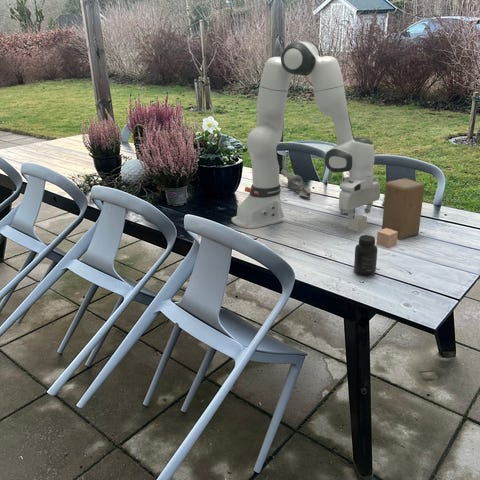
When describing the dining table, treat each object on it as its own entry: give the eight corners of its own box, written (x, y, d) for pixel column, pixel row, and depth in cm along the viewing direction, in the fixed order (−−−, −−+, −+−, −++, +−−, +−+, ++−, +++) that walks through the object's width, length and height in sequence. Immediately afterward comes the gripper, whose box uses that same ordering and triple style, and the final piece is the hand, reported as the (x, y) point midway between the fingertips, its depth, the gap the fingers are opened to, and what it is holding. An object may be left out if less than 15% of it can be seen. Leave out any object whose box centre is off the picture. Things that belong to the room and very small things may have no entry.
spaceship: (290, 165, 246) (277, 161, 242) (320, 190, 217) (306, 186, 213) (284, 179, 249) (272, 175, 245) (313, 205, 219) (299, 201, 216)
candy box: (355, 215, 197) (357, 177, 191) (340, 214, 199) (342, 176, 192) (354, 204, 210) (356, 168, 203) (341, 203, 211) (342, 168, 204)
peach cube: (387, 248, 166) (389, 235, 164) (376, 244, 170) (377, 231, 168) (396, 244, 169) (397, 231, 167) (385, 240, 172) (386, 227, 171)
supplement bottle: (350, 268, 153) (353, 234, 148) (371, 266, 154) (374, 232, 149) (357, 277, 147) (360, 242, 142) (378, 276, 147) (381, 241, 142)
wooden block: (399, 240, 172) (405, 188, 164) (380, 231, 180) (384, 181, 172) (419, 234, 176) (426, 183, 168) (399, 226, 184) (405, 177, 176)
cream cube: (357, 231, 181) (358, 219, 179) (347, 228, 185) (348, 216, 183) (366, 228, 184) (367, 216, 182) (356, 225, 187) (357, 213, 185)
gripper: (371, 174, 185) (370, 207, 190) (336, 185, 174) (335, 220, 179) (385, 177, 180) (383, 211, 185) (349, 189, 169) (348, 224, 174)
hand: (359, 215), depth 182 cm, fingers open, 8 cm apart
